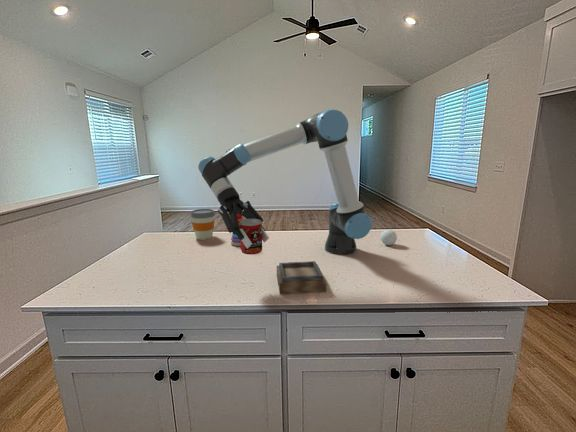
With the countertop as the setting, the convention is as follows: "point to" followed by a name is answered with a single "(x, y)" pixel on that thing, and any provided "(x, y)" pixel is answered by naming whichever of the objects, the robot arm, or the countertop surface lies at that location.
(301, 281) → the square wooden tray
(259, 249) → the canned food
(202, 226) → the reusable coffee cup
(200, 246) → the countertop surface
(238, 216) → the stacking toy
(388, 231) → the ball
